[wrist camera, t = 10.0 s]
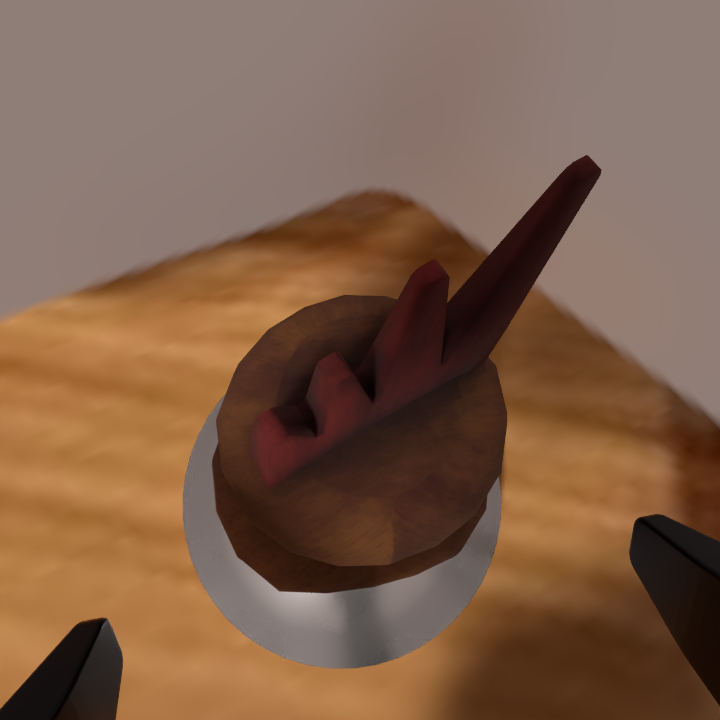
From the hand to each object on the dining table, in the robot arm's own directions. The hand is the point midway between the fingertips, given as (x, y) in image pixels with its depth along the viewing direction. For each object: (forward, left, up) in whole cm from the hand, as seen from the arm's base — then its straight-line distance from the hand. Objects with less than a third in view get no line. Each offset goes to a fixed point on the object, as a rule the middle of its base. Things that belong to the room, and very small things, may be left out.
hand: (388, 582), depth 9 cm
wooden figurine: (+2, -1, -9) cm, 10 cm away
